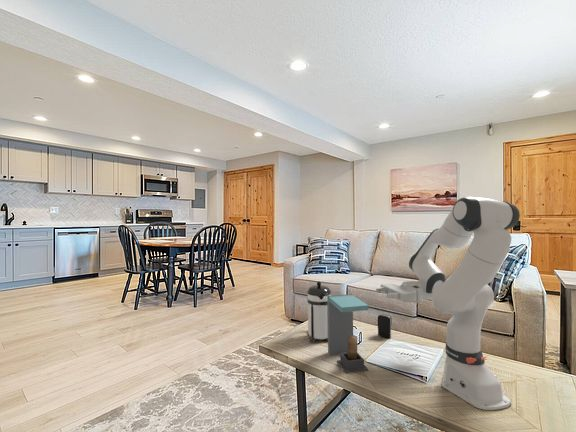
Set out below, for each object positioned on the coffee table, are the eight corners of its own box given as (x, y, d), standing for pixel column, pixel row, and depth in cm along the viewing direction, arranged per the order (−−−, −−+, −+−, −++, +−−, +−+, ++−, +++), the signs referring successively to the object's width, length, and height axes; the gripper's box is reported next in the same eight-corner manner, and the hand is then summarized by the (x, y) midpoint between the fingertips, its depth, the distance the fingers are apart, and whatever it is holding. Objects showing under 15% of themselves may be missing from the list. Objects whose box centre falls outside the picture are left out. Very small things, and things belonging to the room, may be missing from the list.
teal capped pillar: (369, 369, 125) (368, 305, 125) (342, 372, 122) (341, 307, 122) (351, 349, 142) (351, 294, 142) (328, 352, 140) (327, 295, 140)
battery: (392, 336, 157) (392, 315, 157) (390, 338, 154) (390, 317, 154) (379, 333, 162) (379, 312, 162) (377, 335, 159) (377, 314, 158)
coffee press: (340, 337, 157) (340, 281, 157) (321, 346, 146) (320, 286, 146) (316, 328, 170) (315, 276, 169) (296, 336, 159) (295, 281, 158)
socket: (368, 370, 124) (368, 360, 124) (345, 373, 122) (345, 363, 121) (357, 359, 133) (357, 350, 133) (336, 361, 131) (336, 352, 131)
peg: (358, 366, 126) (359, 338, 126) (349, 367, 125) (350, 339, 125) (354, 361, 130) (354, 334, 130) (346, 362, 129) (346, 335, 129)
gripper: (396, 279, 146) (370, 281, 144) (423, 289, 126) (394, 291, 124) (396, 292, 146) (370, 294, 144) (423, 304, 126) (394, 306, 124)
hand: (381, 293), depth 133 cm, fingers open, 8 cm apart
